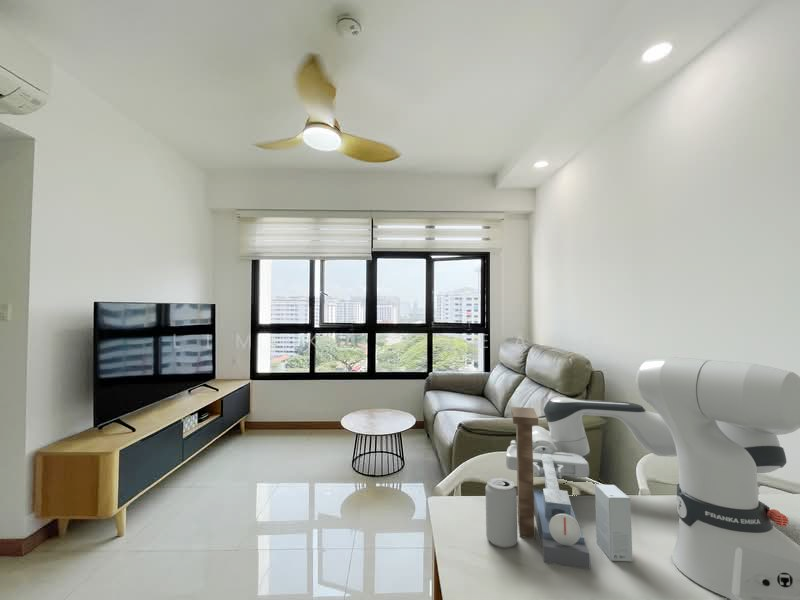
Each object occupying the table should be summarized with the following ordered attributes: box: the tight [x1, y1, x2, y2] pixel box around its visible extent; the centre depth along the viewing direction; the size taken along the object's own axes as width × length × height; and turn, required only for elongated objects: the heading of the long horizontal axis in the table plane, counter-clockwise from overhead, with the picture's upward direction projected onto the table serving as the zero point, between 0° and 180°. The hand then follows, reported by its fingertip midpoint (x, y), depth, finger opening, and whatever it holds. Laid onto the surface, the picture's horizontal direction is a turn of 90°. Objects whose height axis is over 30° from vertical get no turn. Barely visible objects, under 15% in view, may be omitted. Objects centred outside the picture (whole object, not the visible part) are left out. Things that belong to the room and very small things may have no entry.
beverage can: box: [485, 476, 518, 549], centre depth 76 cm, size 6×6×12 cm
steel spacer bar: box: [541, 454, 572, 518], centre depth 85 cm, size 5×18×4 cm, turn 165°
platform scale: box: [533, 488, 591, 571], centre depth 79 cm, size 8×22×9 cm, turn 165°
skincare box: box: [594, 483, 633, 562], centre depth 72 cm, size 6×4×12 cm
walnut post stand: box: [510, 406, 539, 539], centre depth 79 cm, size 5×9×26 cm, turn 165°
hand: (549, 474), depth 88 cm, fingers closed on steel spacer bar, 2 cm apart
